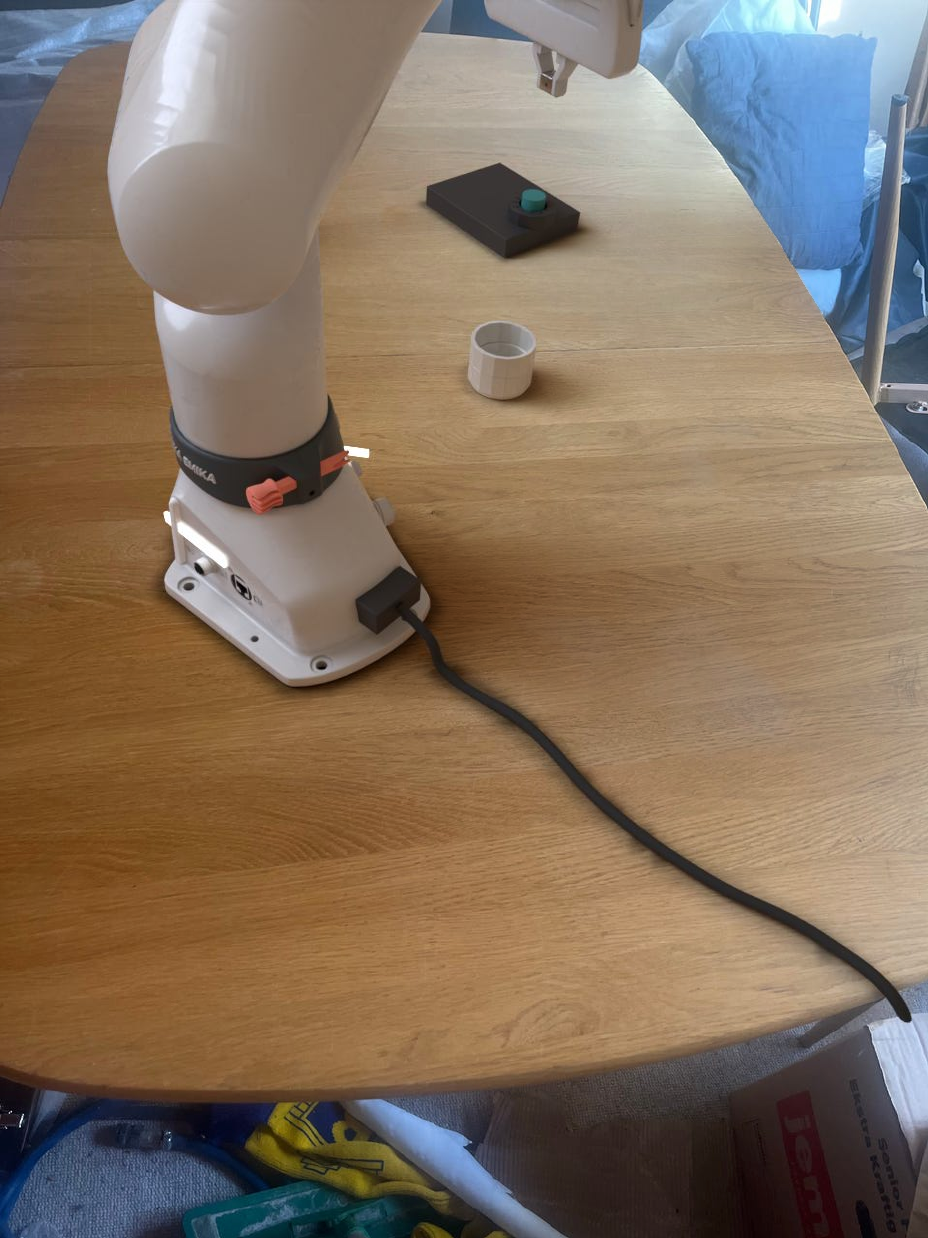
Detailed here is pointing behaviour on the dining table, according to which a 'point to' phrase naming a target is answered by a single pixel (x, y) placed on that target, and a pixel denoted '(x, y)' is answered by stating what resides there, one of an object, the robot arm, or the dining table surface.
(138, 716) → the dining table surface
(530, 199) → the button
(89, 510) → the dining table surface
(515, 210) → the black flat block
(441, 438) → the dining table surface
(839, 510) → the dining table surface
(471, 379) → the white cup
